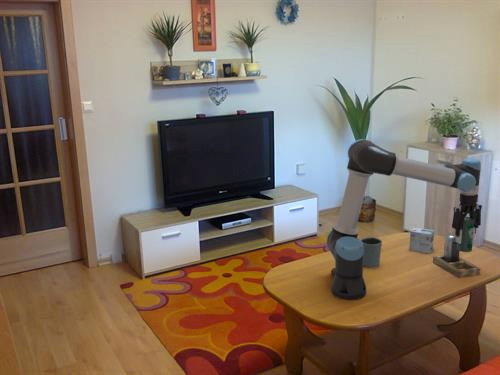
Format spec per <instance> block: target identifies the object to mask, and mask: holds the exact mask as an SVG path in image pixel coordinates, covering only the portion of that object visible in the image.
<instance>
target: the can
mask: <svg viewBox="0 0 500 375" xmlns="http://www.w3.org/2000/svg"><path fill="white" fill-rule="evenodd" d="M474 221H475V220H474V219H473V218H472V219H471V218H470V216H466V217H465V219H464V222H463V224H462V227H461V230H462V239H461V244H459V243H457V250H459V251H460V252H463V253H470V252H472V251H473V243H474V242H473V232H474Z"/></svg>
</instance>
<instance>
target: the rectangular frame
mask: <svg viewBox="0 0 500 375" xmlns="http://www.w3.org/2000/svg"><path fill="white" fill-rule="evenodd" d="M443 258H444V254H443V255H442V254H441V255H436V256H433V257H432V263H433V264H435V265H436V266H438V267H440V268H442V269H443V270H444V271H446V272H448V273H450V274H451V275H452V276H455V277H456V278H457V279H463V278H468V277H475V276H479V275H481V270H482V268H480V267H479V266H477V265H475V264H473V263H471V262H469V261H468V260H466V259H465V258H463V257H460V256H459V261H457V262H451V263H448V262H446V261H444V260H443Z"/></svg>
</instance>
